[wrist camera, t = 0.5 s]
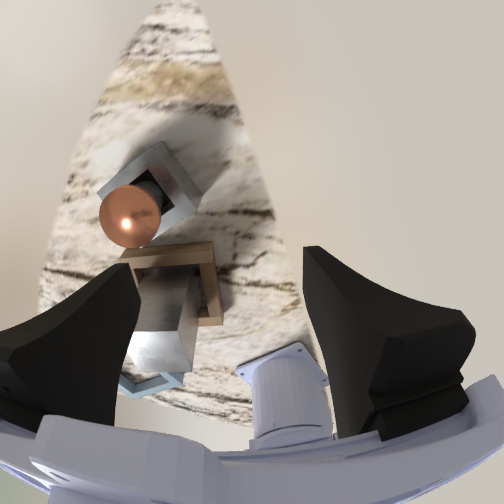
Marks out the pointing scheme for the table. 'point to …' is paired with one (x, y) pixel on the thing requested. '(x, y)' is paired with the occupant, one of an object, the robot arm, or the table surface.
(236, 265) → the table surface
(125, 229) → the plunger
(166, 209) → the frame
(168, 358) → the grey metal block
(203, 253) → the walnut socket
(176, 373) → the light blue square frame
